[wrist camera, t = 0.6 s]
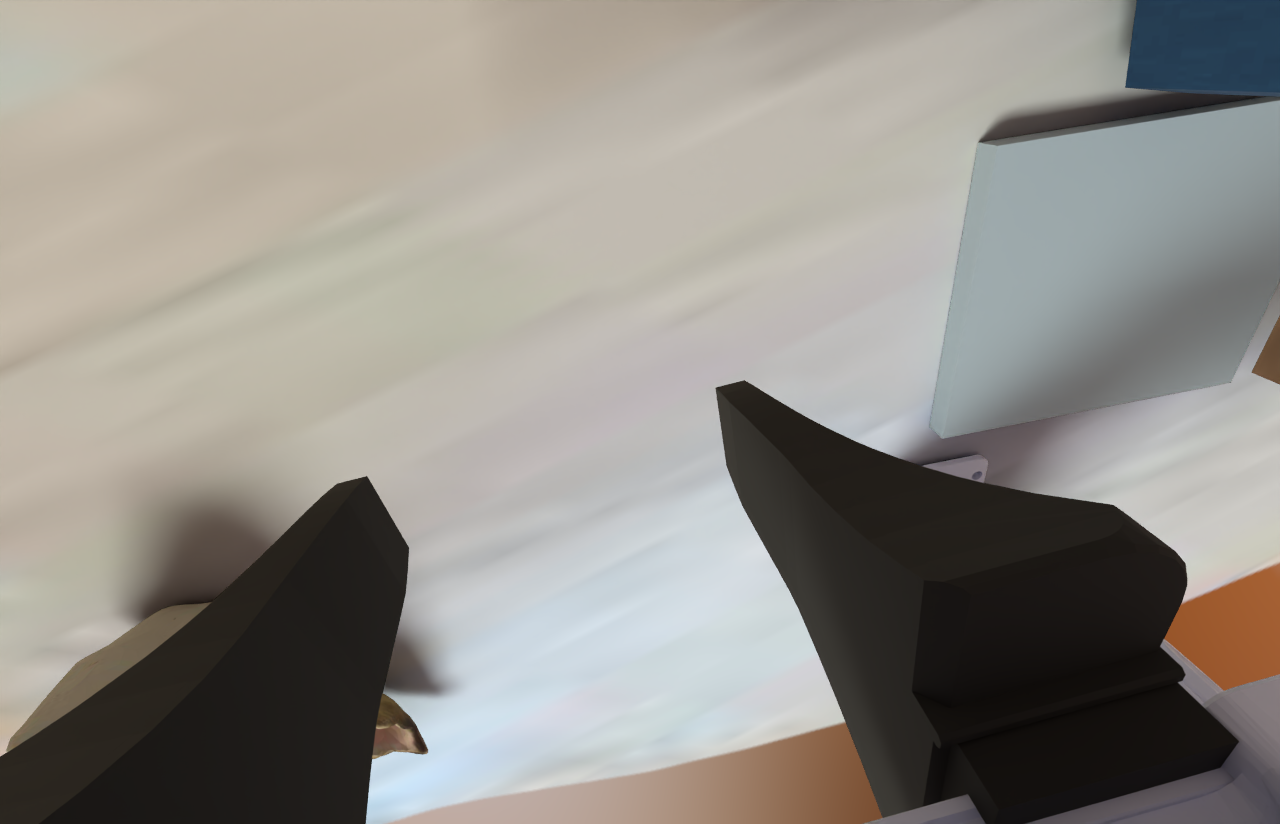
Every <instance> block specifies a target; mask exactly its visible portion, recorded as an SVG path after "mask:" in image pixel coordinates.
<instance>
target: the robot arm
mask: <svg viewBox="0 0 1280 824" xmlns="http://www.w3.org/2000/svg"><path fill="white" fill-rule="evenodd" d="M716 394H717V401H718V408H719V415H720V422H721V429H722V437H723V444H724V451H725V458H726V465H727V468H728V471H729V473H730V476H731V478H732V481H733V484H734V486H735V489H736V491H737V494H738V496H739V499H740V501H741V503H742V506H743V508H744V509H745V511H746V513H747V515H748V517H749V519H750V520H751V522H752V524H753V526H754V528H755V530H756V531H757V533H758V535H759V537H760V539H761V540H762V542H763V544H764V546H765V548H766V549H767V551H768V553H769V555H770V557H771V558H772V560H773V562H774V564H775V565H776V567H777V569H778V571H779V573H780V574H781V576H782V578H783V580H784V582H785V583H786V585H787V587H788V589H789V591H790V593H791V595H792V597H793V599H794V601H795V603H796V605H797V607H798V609H799V611H800V613H801V616H802V618H803V620H804V623H805V625H806V627H807V630H808V632H809V634H810V637H811V639H812V641H813V644H814V646H815V648H816V651H817V653H818V655H819V658H820V660H821V663H822V665H823V667H824V670H825V672H826V675H827V677H828V680H829V682H830V684H831V687H832V689H833V692H834V694H835V697H836V699H837V701H838V704H839V706H840V709H841V711H842V714H843V716H844V719H845V722H846V724H847V727H848V729H849V732H850V734H851V737H852V739H853V741H854V744H855V747H856V749H857V752H858V754H859V757H860V759H861V762H862V765H863V767H864V770H865V772H866V775H867V778H868V780H869V783H870V786H871V788H872V791H873V794H874V796H875V799H876V802H877V804H878V807H879V809H880V812H881V815H882V817H883V818H882V819H878V820H875V821H871V822H868V823H864V824H1280V675H1276V676H1273V677H1269V678H1265V679H1262V680H1259V681H1255V682H1251V683H1248V684H1244V685H1241V686H1237V687H1233V688H1231V689H1228V690H1226V691H1223V690H1222V689H1221V688H1220V687H1219V686H1218V685H1217V684H1216V683H1214V682H1213V681H1212V680H1211V679H1210V678H1209V677H1208V676H1206V675H1205V674H1204V673H1203V672H1202V671H1201V670H1200V669H1199V668H1197V667H1196V666H1195V665H1194V664H1193V663H1192V662H1191V661H1189V660H1188V659H1187V658H1186V657H1185V656H1184V655H1182V654H1181V653H1180V652H1179V651H1178V650H1177V649H1175V648H1174V647H1173V646H1172V645H1171V644H1169V643H1168V642H1167V641H1166V640H1165V639H1164V638H1165V636H1166V634H1167V631H1168V629H1169V627H1170V625H1171V623H1172V621H1173V619H1174V617H1175V615H1176V613H1177V611H1178V609H1179V607H1180V605H1181V603H1182V600H1183V597H1184V594H1185V591H1186V587H1187V573H1186V564H1185V562H1184V561H1183V560H1182V559H1181V558H1180V556H1179V555H1178V554H1177V553H1176V552H1175V551H1174V550H1173V549H1171V548H1170V547H1169V546H1168V545H1166V544H1165V543H1164V542H1162V541H1161V540H1160V539H1158V538H1157V537H1156V536H1154V535H1153V534H1152V533H1150V532H1149V531H1148V530H1146V529H1145V528H1144V527H1142V526H1141V525H1140V524H1139V523H1137V522H1136V521H1135V520H1133V519H1132V518H1131V517H1129V516H1128V515H1127V514H1125V513H1124V512H1123V511H1121V510H1120V509H1118V508H1117V507H1115V506H1114V505H1110V504H1103V503H1096V502H1089V501H1082V500H1076V499H1069V498H1062V497H1055V496H1048V495H1042V494H1035V493H1030V492H1025V491H1020V490H1015V489H1010V488H1005V487H1001V486H996V485H991V484H986V483H984V480H985V476H986V472H987V468H988V461H987V459H986V458H984V457H983V456H982V455H973V456H968V457H963V458H958V459H953V460H948V461H943V462H938V463H933V464H928V465H923V466H920V465H917V464H914V463H911V462H908V461H905V460H902V459H899V458H896V457H894V456H891V455H888V454H886V453H883V452H880V451H878V450H875V449H872V448H870V447H867V446H865V445H863V444H860V443H858V442H856V441H853V440H851V439H849V438H847V437H845V436H843V435H841V434H839V433H836V432H834V431H832V430H830V429H828V428H826V427H824V426H822V425H820V424H818V423H816V422H814V421H813V420H811V419H809V418H807V417H805V416H803V415H802V414H800V413H798V412H796V411H795V410H793V409H791V408H789V407H788V406H786V405H784V404H783V403H781V402H779V401H778V400H776V399H774V398H773V397H771V396H769V395H768V394H766V393H764V392H763V391H761V390H760V389H758V388H756V387H755V386H753V385H752V384H750V383H748V382H746V381H745V380H744V381H740V382H736V383H732V384H728V385H724V386H720V387H717V388H716ZM408 557H409V547H408V545H407V544H406V542H405V540H404V539H403V537H402V535H401V533H400V532H399V530H398V528H397V527H396V525H395V523H394V521H393V520H392V518H391V516H390V515H389V513H388V511H387V509H386V508H385V506H384V504H383V503H382V501H381V499H380V497H379V496H378V494H377V492H376V491H375V489H374V487H373V485H372V484H371V482H370V480H369V479H368V477H367V476H366V477H362V478H358V479H354V480H350V481H346V482H342V483H338V484H336V485H335V486H334V487H333V488H331V489H330V490H329V491H328V492H327V493H325V494H324V495H323V496H322V497H321V498H320V499H319V500H318V501H317V502H316V503H315V504H314V505H313V506H312V507H310V508H309V509H308V510H307V511H306V512H305V513H304V514H303V515H302V516H301V517H300V518H299V519H298V520H297V521H296V522H295V523H294V524H293V525H292V526H291V527H290V528H289V529H288V530H287V531H286V532H285V533H284V534H283V535H282V536H281V537H280V538H279V539H278V540H277V541H276V542H275V543H274V544H273V545H272V546H271V547H270V548H269V549H268V550H267V551H266V552H265V553H264V554H263V555H262V556H261V557H260V558H259V559H258V560H257V561H256V562H255V563H254V564H252V565H251V566H250V567H249V568H248V569H247V570H246V571H245V572H244V573H243V574H242V575H241V576H239V577H238V578H237V579H236V580H235V581H234V582H233V583H232V584H231V585H230V586H229V587H228V588H227V589H225V590H224V591H223V592H222V593H221V594H220V595H219V596H218V597H217V598H216V599H215V600H214V601H212V602H211V603H210V604H209V605H208V606H207V607H206V608H205V609H203V610H202V611H201V612H200V613H199V614H198V615H196V616H195V617H194V618H193V619H192V620H191V621H189V622H188V623H187V624H186V625H185V626H183V627H182V628H181V629H180V630H178V631H177V632H176V633H175V634H173V635H172V636H171V637H170V638H169V639H167V640H166V641H165V642H164V643H162V644H161V645H160V646H159V647H157V648H156V649H155V650H154V651H152V652H151V653H150V654H148V655H147V656H146V657H145V658H143V659H142V660H141V661H139V662H138V663H136V664H135V665H134V666H132V667H131V668H130V669H128V670H127V671H125V672H124V673H123V674H121V675H120V676H119V677H117V678H116V679H114V680H113V681H112V682H110V683H109V684H107V685H106V686H105V687H103V688H102V689H101V690H99V691H98V692H96V693H95V694H94V695H92V696H91V697H90V698H88V699H87V700H85V701H84V702H83V703H81V704H80V705H78V706H77V707H76V708H74V709H73V710H71V711H70V712H68V713H67V714H65V715H64V716H62V717H61V718H59V719H58V720H56V721H55V722H53V723H52V724H50V725H49V726H47V727H46V728H44V729H43V730H41V731H40V732H38V733H37V734H35V735H34V736H32V737H30V738H29V739H27V740H26V741H24V742H23V743H21V744H19V745H18V746H16V747H15V748H13V749H12V750H10V751H8V752H7V753H5V754H4V755H2V756H1V757H0V824H366V813H367V803H368V792H369V781H370V772H371V764H372V756H373V748H374V740H375V731H376V724H377V718H378V713H379V708H380V702H381V697H382V693H383V689H384V685H385V681H386V676H387V672H388V668H389V664H390V659H391V655H392V651H393V647H394V642H395V638H396V634H397V630H398V625H399V621H400V616H401V612H402V608H403V603H404V598H405V593H406V584H407V573H408Z"/></svg>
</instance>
